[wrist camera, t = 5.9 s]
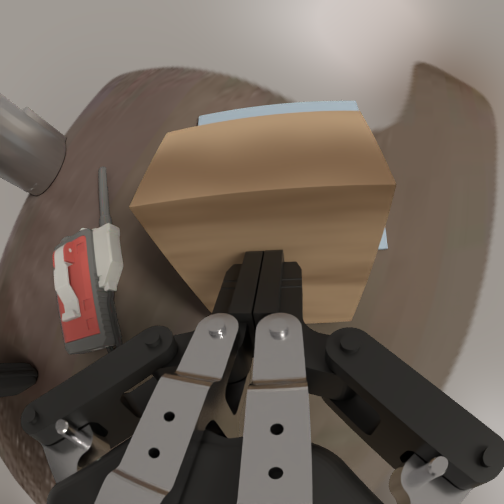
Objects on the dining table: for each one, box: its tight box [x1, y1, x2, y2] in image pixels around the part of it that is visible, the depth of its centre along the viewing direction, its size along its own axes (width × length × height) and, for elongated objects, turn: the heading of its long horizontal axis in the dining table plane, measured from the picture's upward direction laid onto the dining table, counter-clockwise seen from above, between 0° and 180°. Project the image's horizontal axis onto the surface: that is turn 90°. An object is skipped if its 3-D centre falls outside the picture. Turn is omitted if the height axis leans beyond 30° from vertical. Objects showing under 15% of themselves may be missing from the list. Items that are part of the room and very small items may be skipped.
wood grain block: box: [129, 111, 396, 324], centre depth 14 cm, size 5×9×12 cm, turn 90°
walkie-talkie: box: [53, 167, 123, 354], centre depth 23 cm, size 9×4×20 cm
